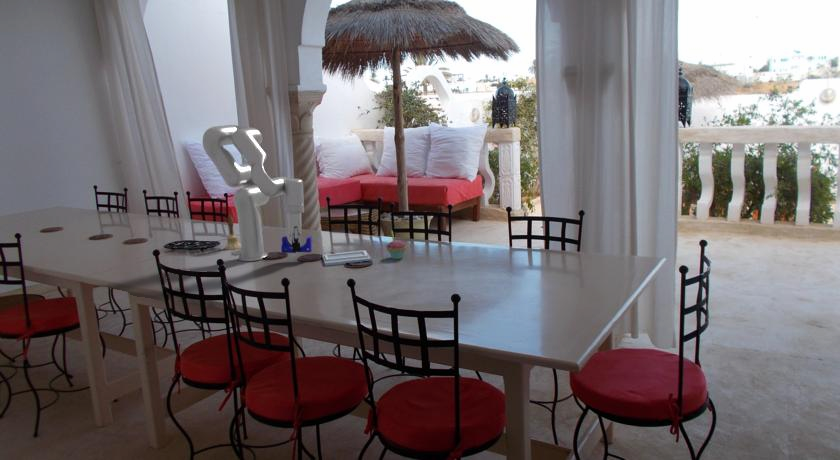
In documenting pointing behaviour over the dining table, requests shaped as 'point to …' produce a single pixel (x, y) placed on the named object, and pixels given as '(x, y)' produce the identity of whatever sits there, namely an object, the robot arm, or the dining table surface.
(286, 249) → the cable clip
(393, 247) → the cupcake
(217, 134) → the robot arm
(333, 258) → the door panel
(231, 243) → the hand bell
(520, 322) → the dining table surface
